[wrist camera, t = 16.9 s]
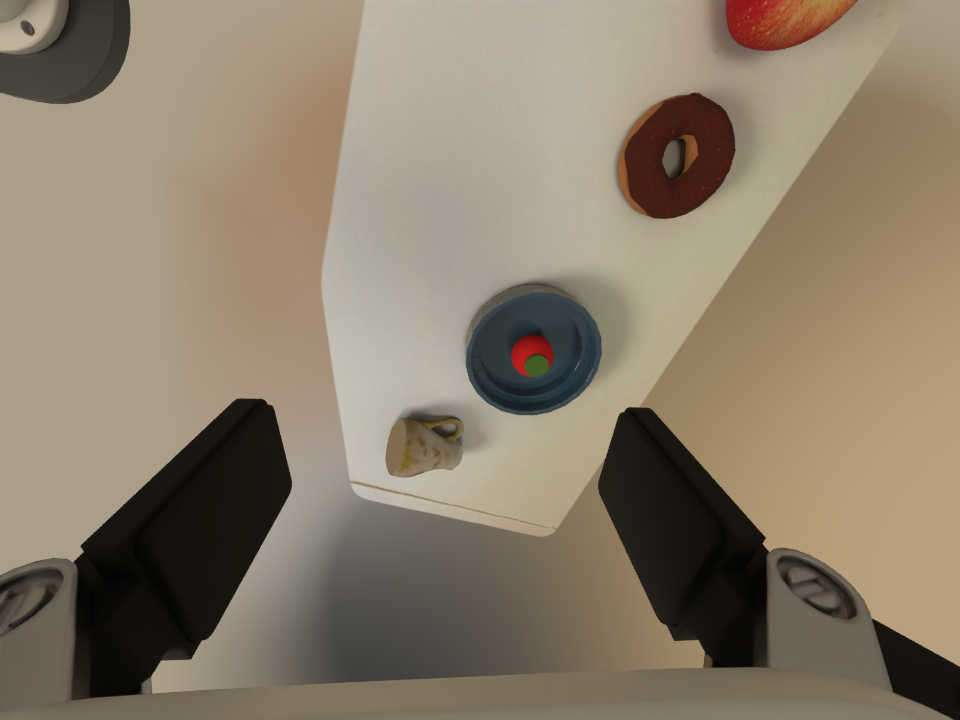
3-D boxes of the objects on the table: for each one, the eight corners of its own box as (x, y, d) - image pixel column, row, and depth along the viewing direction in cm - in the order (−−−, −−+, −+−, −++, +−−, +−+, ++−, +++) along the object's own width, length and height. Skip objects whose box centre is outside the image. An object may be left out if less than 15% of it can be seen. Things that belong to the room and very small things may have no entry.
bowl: (462, 395, 44) (463, 414, 40) (468, 279, 37) (469, 289, 34) (576, 398, 45) (586, 416, 42) (601, 286, 39) (616, 296, 35)
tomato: (506, 363, 42) (512, 385, 37) (510, 327, 39) (517, 345, 35) (544, 365, 42) (555, 386, 37) (550, 329, 40) (562, 347, 35)
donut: (617, 105, 31) (637, 94, 27) (724, 91, 31) (758, 78, 27) (611, 223, 36) (627, 226, 32) (703, 210, 35) (731, 213, 32)
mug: (456, 464, 50) (414, 514, 41) (409, 418, 51) (359, 458, 42) (482, 438, 45) (441, 488, 37) (430, 389, 46) (379, 426, 38)
